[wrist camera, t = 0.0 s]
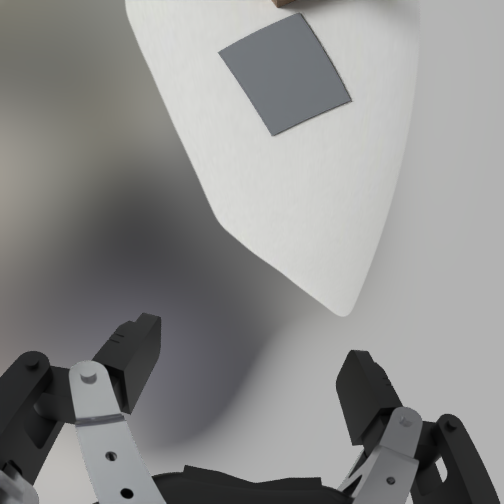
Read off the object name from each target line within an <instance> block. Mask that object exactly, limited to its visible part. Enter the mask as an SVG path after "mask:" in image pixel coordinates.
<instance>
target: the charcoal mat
mask: <svg viewBox="0 0 504 504" xmlns="http://www.w3.org/2000/svg"><path fill="white" fill-rule="evenodd" d="M218 53H219V55H220V56H221V58H222V59H223V60H224V62H225V63H226V65H227V66H228V68H229V69H230V71H231V72H232V74H233V75H234V77H235V78H236V79H237V81H238V82H239V84H240V86H241V87H242V89H243V90H244V92H245V93H246V95H247V96H248V98H249V99H250V101H251V102H252V104H253V106H254V107H255V109H256V110H257V112H258V114H259V115H260V117H261V118H262V120H263V122H264V123H265V125H266V127H267V128H268V130H269V132H270V133H271V135H272V136H273V135H275V134H277V133H279V132H281V131H283V130H285V129H287V128H289V127H291V126H293V125H296V124H298V123H300V122H302V121H304V120H306V119H308V118H311V117H313V116H315V115H317V114H320V113H322V112H324V111H327V110H329V109H331V108H334V107H336V106H338V105H341V104H343V103H346V102H348V101H351V100H350V98H349V96H348V94H347V92H346V90H345V88H344V86H343V84H342V82H341V80H340V78H339V76H338V74H337V73H336V71H335V69H334V67H333V65H332V64H331V62H330V60H329V58H328V57H327V55H326V53H325V52H324V50H323V48H322V47H321V45H320V43H319V42H318V40H317V39H316V37H315V35H314V34H313V32H312V31H311V29H310V28H309V26H308V25H307V23H306V22H305V20H304V19H303V18H302V16H301V15H300V13H297V14H294V15H292V16H289V17H287V18H285V19H282V20H280V21H278V22H275V23H273V24H271V25H269V26H267V27H265V28H262V29H260V30H258V31H256V32H254V33H252V34H250V35H248V36H246V37H245V38H243V39H241V40H239V41H237V42H235V43H233V44H232V45H230V46H228V47H226V48H225V49H223V50H221V51H220V52H218Z"/></svg>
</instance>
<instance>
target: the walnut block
mask: <svg viewBox="0 0 504 504" xmlns="http://www.w3.org/2000/svg"><path fill="white" fill-rule="evenodd" d="M293 1H295V0H272V2H273V3H274V4H275V5H276V7H277V8H278V7H280V6H283V5H285V4H288V3H290V2H293Z"/></svg>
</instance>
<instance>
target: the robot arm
mask: <svg viewBox="0 0 504 504" xmlns="http://www.w3.org/2000/svg"><path fill="white" fill-rule="evenodd" d="M160 348H161V317H159V316H155V315H151V314H147V313H142V314H141V315H140V317H139V318H138V319H137V321H136V322H132V321H128V322H126V323H124V324H122V325H120V326H119V327H118V328H117V329H116V331H115V332H114V334H113V335H111V337H110V338H109V340H107V342H106V343H105V344H104V345H103V347H102V348H101V349H100V350H99V352H98V353H97V354H96V355H95V356H94V358H93V359H92V360H91V361H81V362H78V363H76V364H75V365H73V366H72V368H71V369H67V368H61V367H55V366H50V363H49V359H48V357H46V355H44V354H43V353H41V352H37V351H30V352H26V353H23V354H22V355H20V356H19V357H18V359H17V360H16V361H15V362H14V363H13V364H12V365H11V366H10V367H9V368H8V369H7V371H6V372H5V373H4V374H3V375H2V376H1V377H0V504H39V497H38V494H37V492H36V490H35V489H34V488H33V485H34V482H35V480H36V478H37V476H38V474H39V472H40V470H41V468H42V466H43V463H44V461H45V459H46V457H47V455H48V453H49V451H50V450H51V448H52V446H53V444H54V442H55V440H56V438H57V436H58V434H59V432H60V431H61V429H62V427H63V425H64V423H70V424H75V428H76V432H77V436H78V440H79V444H80V448H81V452H82V455H83V458H84V462H85V465H86V468H87V471H88V474H89V477H90V480H91V483H92V486H93V489H94V491H95V494H96V496H97V499H98V502H96V503H93V504H405V502H406V499H407V497H408V494H409V492H410V493H411V496H412V500H413V504H500V501H499V499H498V496H497V493H496V491H495V489H494V486H493V484H492V482H491V479H490V477H489V475H488V473H487V470H486V468H485V466H484V464H483V462H482V460H481V458H480V456H479V454H478V452H477V450H476V448H475V446H474V444H473V442H472V440H471V438H470V436H469V434H468V433H467V431H466V429H465V427H464V425H463V423H462V422H461V421H460V419H459V418H457V417H456V416H454V415H451V414H444V415H442V416H441V417H440V418H439V419H438V420H437V422H436V423H435V422H427V421H422V418H421V416H420V415H419V414H418V413H417V412H416V411H415V410H413V409H411V408H408V407H403V405H402V403H401V401H400V400H399V397H398V395H397V394H396V392H395V390H394V388H393V386H391V382H390V380H389V379H388V376H387V375H386V373H385V371H384V369H383V368H381V367H380V366H379V365H378V364H377V363H375V362H374V361H373V359H372V357H371V356H370V354H369V352H368V351H360V350H351V351H350V352H349V353H348V355H347V357H346V360H345V362H344V364H343V366H342V368H341V370H340V372H339V374H338V377H337V380H336V390H337V393H338V397H339V400H340V404H341V407H342V410H343V414H344V417H345V421H346V424H347V428H348V431H349V435H350V438H351V442H352V445H353V446H354V445H363V446H364V449H363V450H362V451H361V453H360V455H359V457H358V458H357V460H356V462H355V463H354V465H353V467H352V468H351V470H350V472H349V473H348V475H347V476H346V478H345V480H344V481H343V482H342V484H341V485H340V486H339V488H338V489H337V490H336V489H333V488H331V487H327V486H323V485H322V483H321V478H320V477H314V478H285V479H280V480H274V481H267V482H260V483H253V482H249V481H246V480H243V479H239V478H236V477H233V476H231V475H227V474H225V473H222V472H219V471H213V470H207V469H202V468H197V467H193V466H188V465H185V467H184V471H183V472H172V473H163V474H158V475H154V476H151V475H150V473H149V471H148V469H147V467H146V466H145V463H144V461H143V460H142V457H141V455H140V453H139V451H138V449H137V446H136V444H135V442H134V439H133V437H132V435H131V433H130V430H129V428H128V425H127V423H126V420H125V418H124V416H122V414H121V412H124V413H127V414H131V413H132V411H133V409H134V407H135V404H136V402H137V400H138V398H139V396H140V394H141V392H142V390H143V388H144V386H145V384H146V382H147V380H148V378H149V376H150V374H151V372H152V370H153V368H154V366H155V364H156V362H157V360H158V358H159V354H160ZM441 456H442V459H443V461H444V464H445V466H446V468H447V478H446V480H445V481H444V482H443V483H442V480H441V477H440V474H439V472H438V469H437V466H436V464H435V462H436V461H437V460H438V459H439V458H440V457H441Z"/></svg>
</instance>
